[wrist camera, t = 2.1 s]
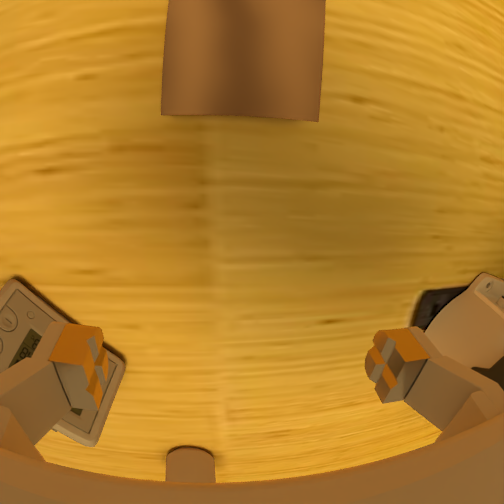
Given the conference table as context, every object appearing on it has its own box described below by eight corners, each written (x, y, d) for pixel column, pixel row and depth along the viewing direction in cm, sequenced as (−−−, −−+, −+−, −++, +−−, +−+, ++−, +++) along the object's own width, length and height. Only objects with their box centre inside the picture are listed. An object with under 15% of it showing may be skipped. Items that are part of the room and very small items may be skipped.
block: (305, 6, 20) (325, -13, 15) (298, 118, 24) (318, 121, 19) (179, -2, 18) (172, -25, 14) (171, 114, 22) (160, 115, 18)
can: (203, 468, 44) (206, 529, 34) (160, 459, 42) (158, 522, 31) (221, 450, 42) (228, 518, 31) (175, 440, 40) (174, 511, 29)
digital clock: (135, 364, 32) (120, 443, 23) (88, 388, 34) (69, 457, 24) (30, 256, 26) (-26, 320, 16) (-6, 297, 27) (-52, 357, 17)
